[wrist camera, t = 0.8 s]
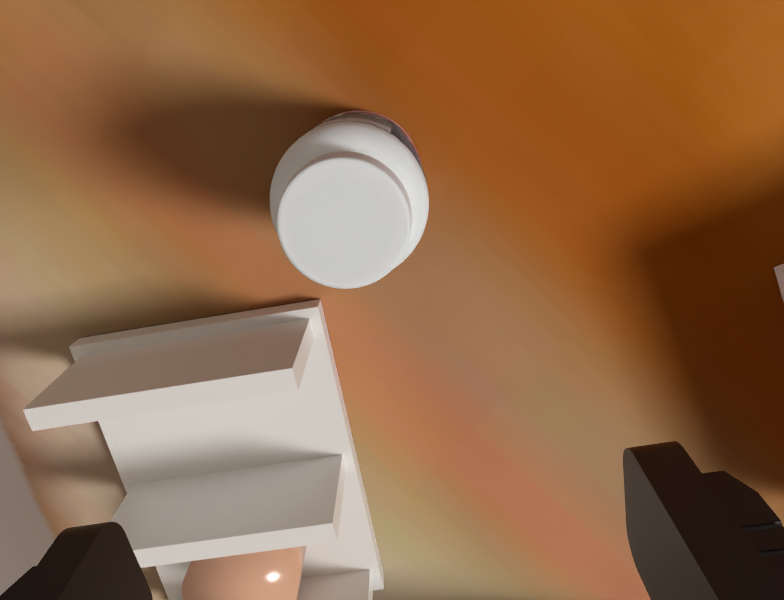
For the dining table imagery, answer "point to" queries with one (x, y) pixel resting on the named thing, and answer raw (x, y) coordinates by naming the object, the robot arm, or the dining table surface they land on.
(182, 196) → the dining table surface
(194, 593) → the peach glossy dome
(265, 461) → the rack
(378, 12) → the dining table surface
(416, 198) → the pill bottle
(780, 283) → the tissue box
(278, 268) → the dining table surface
